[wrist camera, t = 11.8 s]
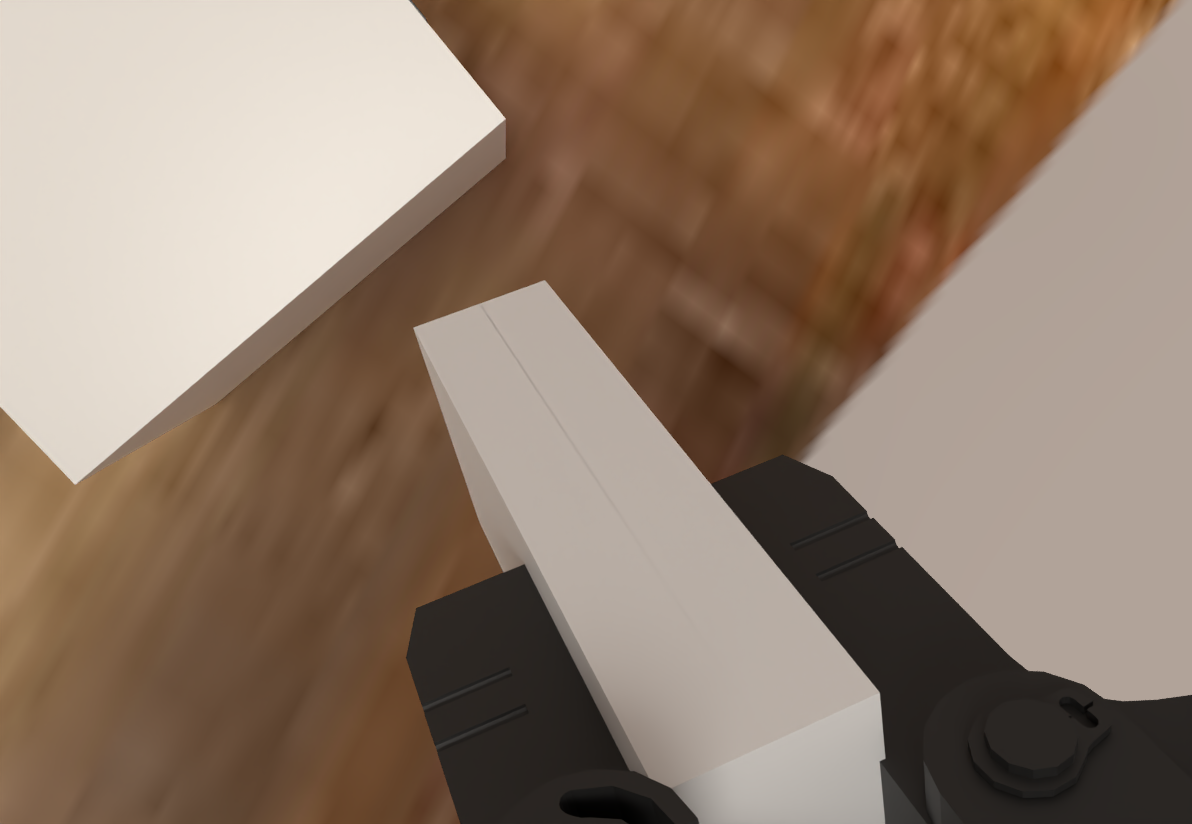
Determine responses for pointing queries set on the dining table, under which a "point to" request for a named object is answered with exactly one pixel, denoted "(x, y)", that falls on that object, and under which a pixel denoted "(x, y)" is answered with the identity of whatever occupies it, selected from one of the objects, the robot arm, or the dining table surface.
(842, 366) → the dining table surface
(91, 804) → the dining table surface
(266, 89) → the case
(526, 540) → the robot arm
